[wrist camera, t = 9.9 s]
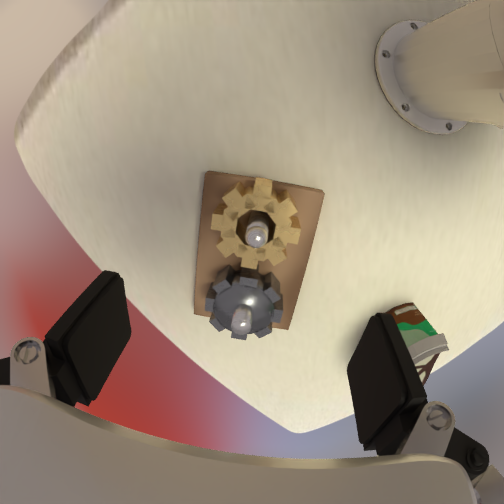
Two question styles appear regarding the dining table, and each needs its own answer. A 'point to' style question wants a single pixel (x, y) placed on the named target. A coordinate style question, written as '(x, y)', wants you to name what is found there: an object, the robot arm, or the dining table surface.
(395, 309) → the food container
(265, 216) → the peg
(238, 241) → the wooden gear
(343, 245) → the dining table surface
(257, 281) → the gear
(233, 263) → the gear board
